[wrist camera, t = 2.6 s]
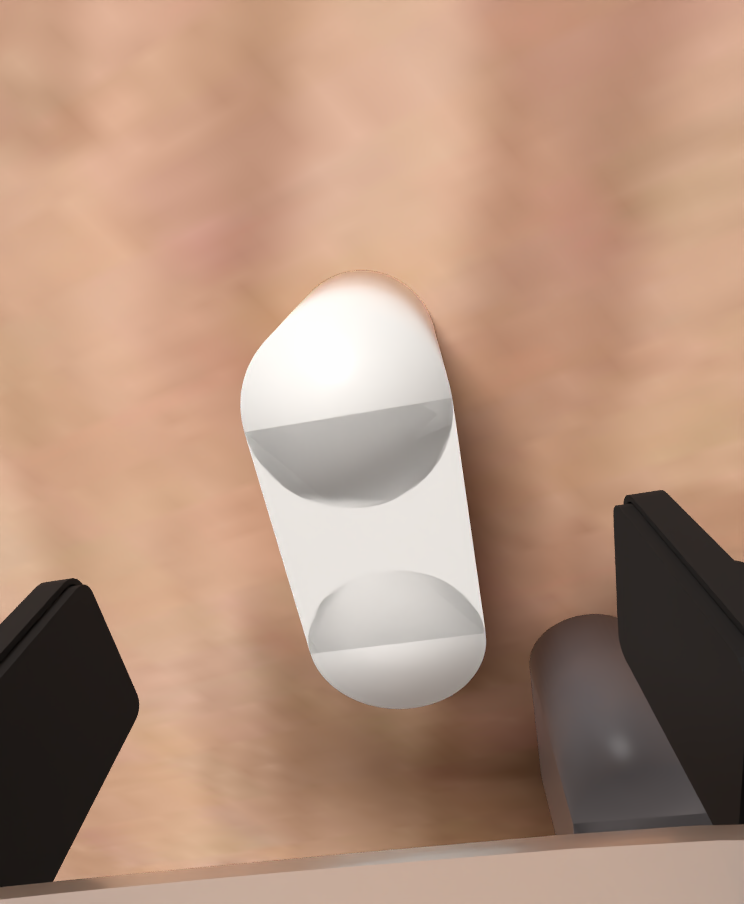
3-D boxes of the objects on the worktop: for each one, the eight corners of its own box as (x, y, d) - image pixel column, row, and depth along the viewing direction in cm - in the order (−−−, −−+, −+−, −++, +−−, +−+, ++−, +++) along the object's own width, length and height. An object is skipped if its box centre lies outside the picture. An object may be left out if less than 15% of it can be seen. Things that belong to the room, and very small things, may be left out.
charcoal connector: (524, 622, 18) (568, 771, 13) (647, 607, 17) (737, 756, 13) (548, 844, 22) (588, 1017, 17) (647, 837, 21) (716, 1012, 17)
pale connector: (274, 285, 14) (214, 329, 9) (423, 256, 13) (436, 288, 9) (360, 631, 18) (347, 779, 13) (477, 617, 18) (504, 765, 13)
